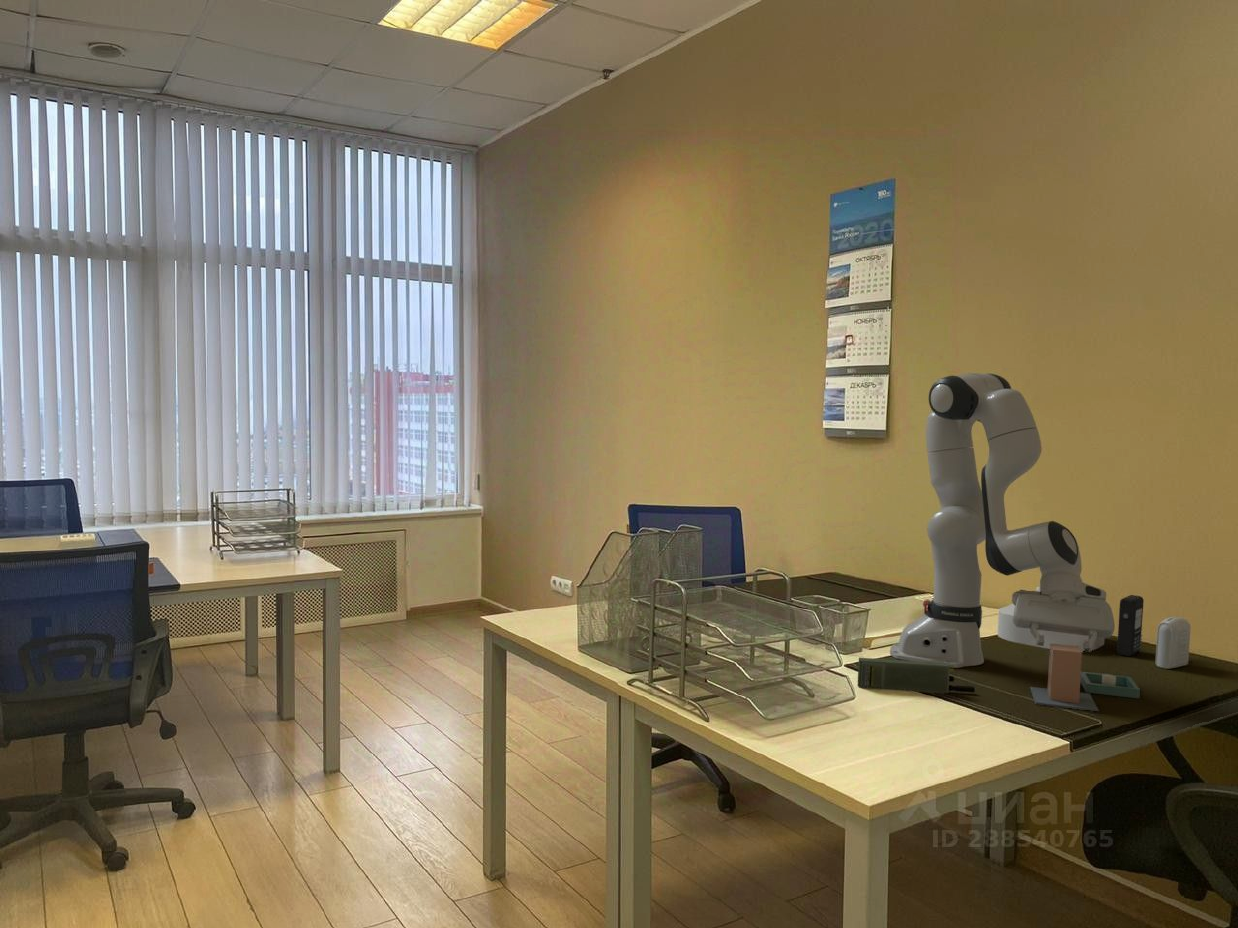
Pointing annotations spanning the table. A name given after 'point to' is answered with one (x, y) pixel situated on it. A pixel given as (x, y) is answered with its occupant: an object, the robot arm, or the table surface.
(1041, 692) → the rubber mat
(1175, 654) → the photo printer
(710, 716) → the table surface
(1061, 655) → the brown tall block
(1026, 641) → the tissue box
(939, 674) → the handheld radio
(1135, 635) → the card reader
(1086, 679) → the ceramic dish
